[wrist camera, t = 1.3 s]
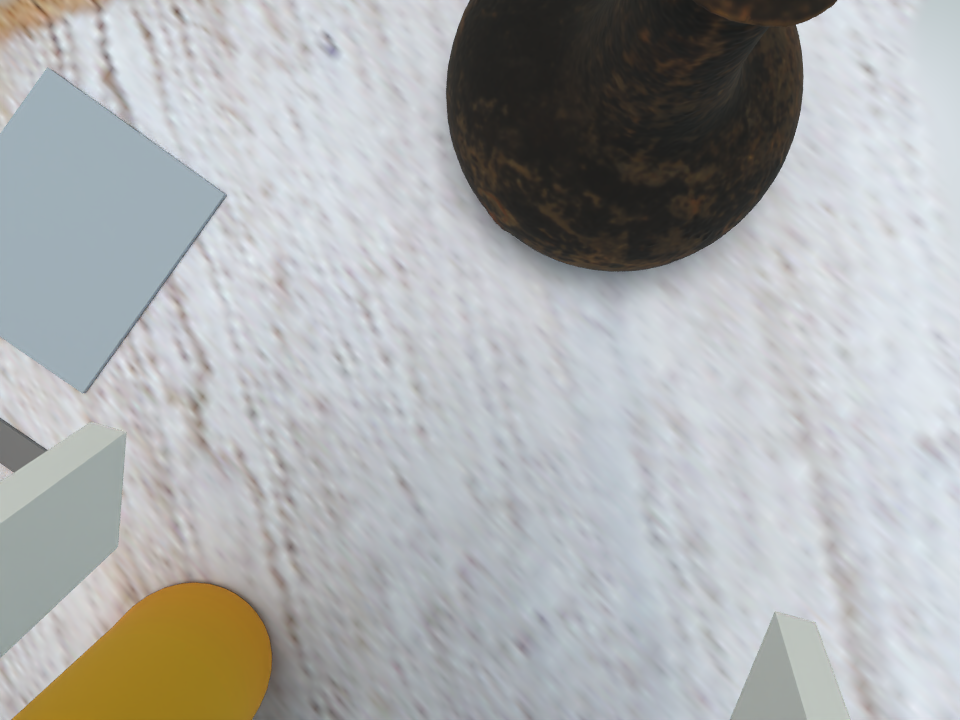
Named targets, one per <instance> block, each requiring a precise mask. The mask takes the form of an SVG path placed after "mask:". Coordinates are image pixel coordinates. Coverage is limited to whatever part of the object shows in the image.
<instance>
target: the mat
mask: <svg viewBox="0 0 960 720" xmlns="http://www.w3.org/2000/svg"><path fill="white" fill-rule="evenodd" d="M225 197H226V195H225V194H224V193H223V192H221V191H220V190H218V189H217V188H216V187H214V186H213V185H212V184H210V183H209V182H207V181H206V180H205V179H203V178H202V177H200V176H199V175H198V174H196V173H195V172H193V171H192V170H191V169H189V168H188V167H186V166H185V165H184V164H182V163H181V162H179V161H178V160H177V159H175V158H174V157H172V156H171V155H170V154H168V153H167V152H165V151H164V150H163V149H161V148H160V147H158V146H157V145H156V144H154V143H153V142H151V141H150V140H149V139H147V138H146V137H144V136H143V135H142V134H140V133H139V132H137V131H136V130H135V129H133V128H132V127H130V126H129V125H128V124H126V123H125V122H123V121H122V120H121V119H119V118H118V117H116V116H115V115H114V114H112V113H111V112H109V111H108V110H107V109H105V108H104V107H103V106H101V105H100V104H98V103H97V102H96V101H94V100H93V99H91V98H90V97H89V96H87V95H86V94H84V93H83V92H82V91H80V90H79V89H77V88H76V87H75V86H73V85H72V84H70V83H69V82H68V81H66V80H65V79H63V78H62V77H61V76H59V75H58V74H56V73H55V72H54V71H52V70H51V69H49V68H48V67H47V69H46V70H45V72H44V73H43V74H42V76H41V77H40V79H39V80H38V81H37V83H36V84H35V86H34V87H33V88H32V90H31V91H30V93H29V94H28V95H27V97H26V98H25V100H24V101H23V103H22V104H21V105H20V107H19V108H18V110H17V111H16V112H15V114H14V115H13V117H12V118H11V119H10V121H9V122H8V124H7V125H6V126H5V128H4V129H3V131H2V132H1V133H0V337H1V338H3V339H4V340H6V341H7V342H9V343H10V344H12V345H13V346H15V347H16V348H17V349H19V350H20V351H22V352H23V353H25V354H26V355H28V356H29V357H30V358H32V359H33V360H35V361H36V362H38V363H39V364H41V365H42V366H44V367H45V368H46V369H48V370H49V371H51V372H52V373H54V374H55V375H57V376H58V377H59V378H61V379H62V380H64V381H65V382H67V383H68V384H70V385H71V386H73V387H74V388H75V389H77V390H78V391H80V392H81V393H86V391H87V390H88V389H89V387H90V386H91V384H92V383H93V382H94V380H95V379H96V377H97V376H98V375H99V373H100V372H101V370H102V369H103V368H104V366H105V365H106V363H107V362H108V361H109V359H110V358H111V356H112V355H113V354H114V352H115V351H116V349H117V348H118V347H119V345H120V344H121V342H122V341H123V340H124V338H125V337H126V335H127V334H128V333H129V331H130V330H131V328H132V327H133V326H134V324H135V323H136V321H137V320H138V319H139V317H140V316H141V314H142V313H143V311H144V310H145V309H146V307H147V306H148V304H149V303H150V302H151V300H152V299H153V297H154V296H155V295H156V293H157V292H158V290H159V289H160V288H161V286H162V285H163V283H164V282H165V281H166V279H167V278H168V276H169V275H170V274H171V272H172V271H173V269H174V268H175V267H176V265H177V264H178V262H179V261H180V260H181V258H182V257H183V255H184V254H185V253H186V251H187V250H188V248H189V247H190V246H191V244H192V243H193V241H194V240H195V239H196V237H197V236H198V234H199V233H200V232H201V230H202V229H203V227H204V226H205V225H206V223H207V222H208V220H209V219H210V218H211V216H212V215H213V213H214V212H215V211H216V209H217V208H218V206H219V205H220V204H221V202H222V201H223V199H224V198H225Z"/></svg>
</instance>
